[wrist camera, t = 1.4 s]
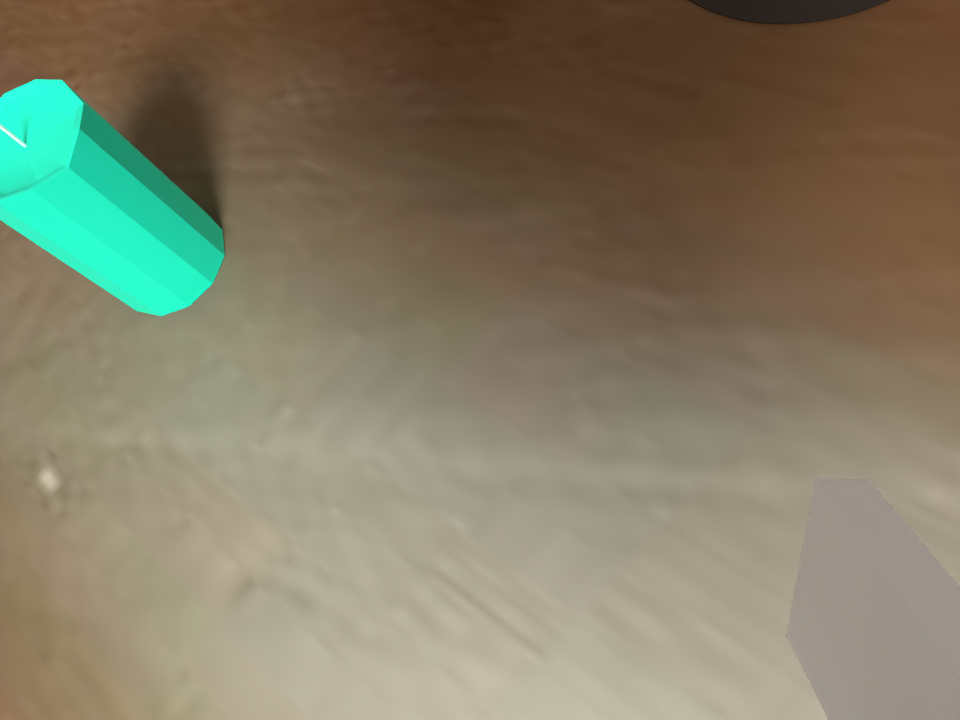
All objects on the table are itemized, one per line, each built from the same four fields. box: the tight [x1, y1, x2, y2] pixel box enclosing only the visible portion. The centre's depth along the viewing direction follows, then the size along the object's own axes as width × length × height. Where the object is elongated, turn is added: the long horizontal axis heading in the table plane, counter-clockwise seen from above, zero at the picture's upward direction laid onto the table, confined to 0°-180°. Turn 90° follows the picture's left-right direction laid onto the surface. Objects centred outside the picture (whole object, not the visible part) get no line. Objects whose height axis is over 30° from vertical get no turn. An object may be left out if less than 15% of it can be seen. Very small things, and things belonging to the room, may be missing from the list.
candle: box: [0, 79, 225, 316], centre depth 40 cm, size 6×6×12 cm
